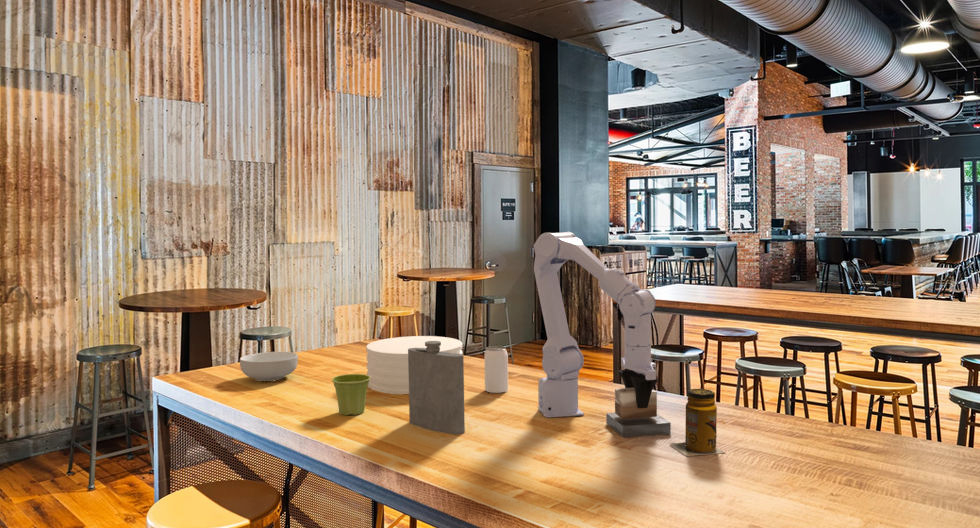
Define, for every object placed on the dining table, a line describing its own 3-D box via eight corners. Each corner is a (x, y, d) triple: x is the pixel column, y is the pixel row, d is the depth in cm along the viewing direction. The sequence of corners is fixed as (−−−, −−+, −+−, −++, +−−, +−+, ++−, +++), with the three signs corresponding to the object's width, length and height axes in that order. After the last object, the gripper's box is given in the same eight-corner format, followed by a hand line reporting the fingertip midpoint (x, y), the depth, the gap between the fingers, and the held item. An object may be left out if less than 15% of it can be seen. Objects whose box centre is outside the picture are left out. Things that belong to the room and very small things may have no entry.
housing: (656, 416, 146) (656, 389, 145) (622, 419, 144) (622, 392, 144) (648, 410, 150) (648, 384, 150) (614, 413, 149) (614, 387, 149)
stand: (623, 437, 142) (622, 426, 142) (606, 423, 152) (606, 413, 151) (670, 433, 144) (670, 422, 144) (651, 420, 154) (651, 410, 153)
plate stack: (481, 384, 190) (480, 345, 190) (393, 400, 175) (392, 358, 174) (433, 367, 213) (433, 332, 213) (352, 380, 198) (351, 342, 197)
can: (505, 394, 179) (505, 350, 178) (482, 393, 180) (482, 350, 179) (510, 388, 185) (509, 346, 184) (487, 387, 186) (486, 345, 186)
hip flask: (467, 431, 147) (466, 343, 146) (455, 436, 144) (454, 346, 143) (416, 419, 157) (414, 336, 156) (404, 423, 154) (402, 339, 152)
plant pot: (353, 405, 170) (352, 372, 170) (379, 410, 165) (378, 376, 164) (324, 413, 163) (323, 379, 162) (351, 420, 157) (350, 384, 157)
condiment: (725, 453, 132) (725, 394, 131) (686, 457, 130) (687, 397, 129) (705, 441, 139) (705, 385, 138) (668, 445, 137) (669, 388, 136)
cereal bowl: (310, 376, 203) (309, 353, 202) (265, 388, 189) (265, 364, 188) (273, 370, 212) (272, 348, 212) (228, 381, 198) (227, 358, 198)
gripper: (669, 349, 140) (668, 412, 141) (641, 338, 154) (641, 395, 155) (637, 351, 139) (637, 414, 140) (612, 339, 153) (613, 397, 154)
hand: (637, 404), depth 147 cm, fingers closed on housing, 5 cm apart
